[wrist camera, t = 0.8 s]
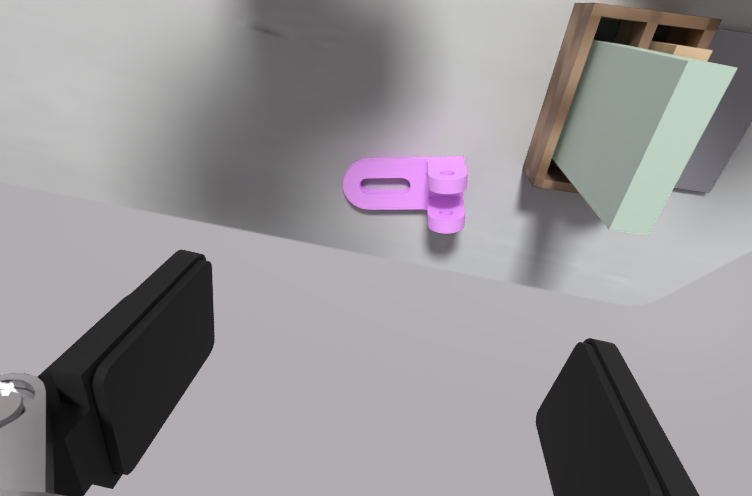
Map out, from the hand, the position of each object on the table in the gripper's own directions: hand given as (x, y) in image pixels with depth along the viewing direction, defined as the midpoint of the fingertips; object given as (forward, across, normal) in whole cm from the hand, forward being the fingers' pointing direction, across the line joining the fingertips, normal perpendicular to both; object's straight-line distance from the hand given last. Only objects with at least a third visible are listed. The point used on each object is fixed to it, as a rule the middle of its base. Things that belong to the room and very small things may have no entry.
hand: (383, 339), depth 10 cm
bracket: (+36, 0, +9) cm, 37 cm away
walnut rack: (+35, -16, -3) cm, 39 cm away
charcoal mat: (+35, -27, -4) cm, 44 cm away
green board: (+35, -14, -3) cm, 38 cm away
